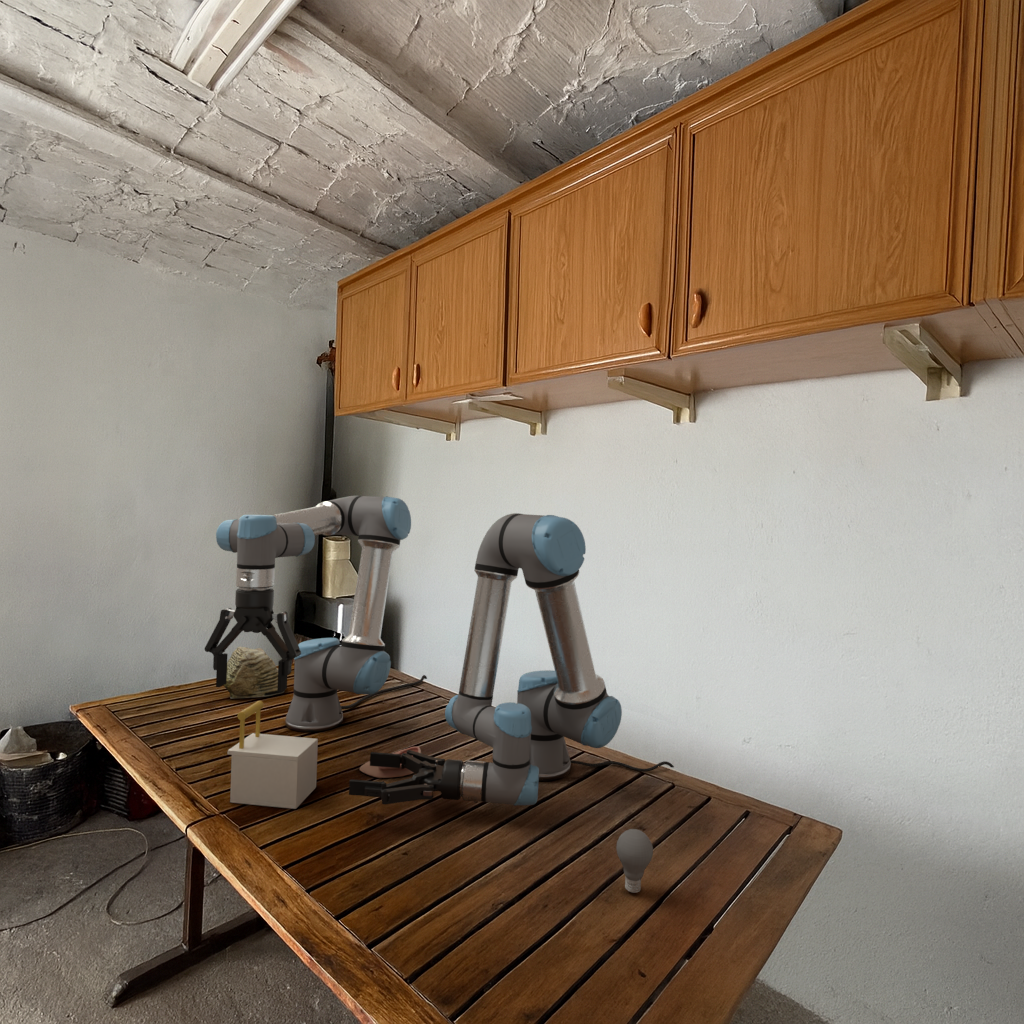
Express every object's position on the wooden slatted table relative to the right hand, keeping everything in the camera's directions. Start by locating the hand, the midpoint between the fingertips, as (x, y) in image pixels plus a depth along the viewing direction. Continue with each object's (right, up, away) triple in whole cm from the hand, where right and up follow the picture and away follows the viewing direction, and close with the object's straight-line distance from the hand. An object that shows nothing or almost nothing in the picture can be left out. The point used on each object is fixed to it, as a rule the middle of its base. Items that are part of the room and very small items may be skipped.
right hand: (360, 772), depth 130 cm
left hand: (-24, +16, +4) cm, 29 cm away
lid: (-19, +4, +3) cm, 20 cm away
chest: (-19, -6, +4) cm, 20 cm away
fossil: (-49, -4, +68) cm, 84 cm away
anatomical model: (+3, -7, +19) cm, 20 cm away
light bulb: (+51, -10, -25) cm, 58 cm away
